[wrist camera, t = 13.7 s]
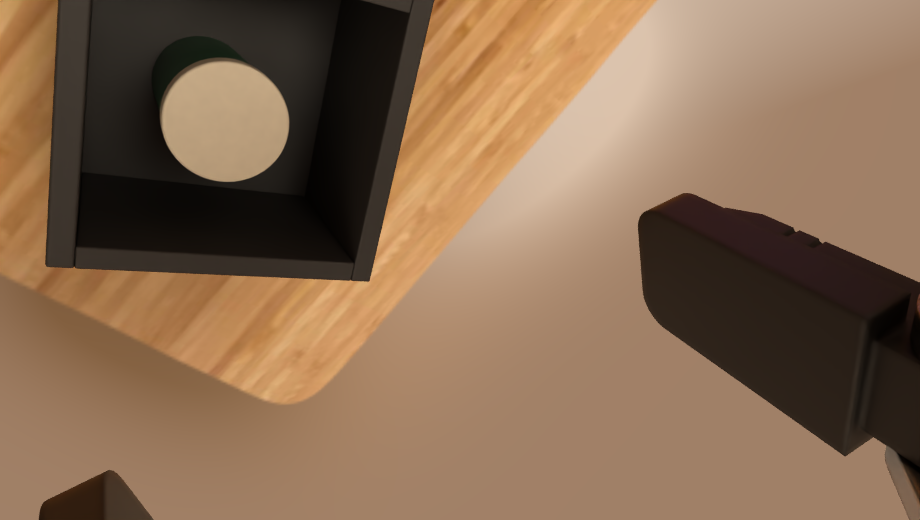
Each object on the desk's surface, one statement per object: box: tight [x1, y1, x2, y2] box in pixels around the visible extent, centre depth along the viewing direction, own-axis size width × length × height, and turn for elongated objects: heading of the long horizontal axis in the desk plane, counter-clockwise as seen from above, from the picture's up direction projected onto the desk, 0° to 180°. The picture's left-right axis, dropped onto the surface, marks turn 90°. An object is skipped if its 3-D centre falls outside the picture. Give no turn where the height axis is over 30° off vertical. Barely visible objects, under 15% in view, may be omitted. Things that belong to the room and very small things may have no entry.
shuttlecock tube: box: [152, 36, 289, 182], centre depth 25 cm, size 4×4×7 cm
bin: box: [45, 0, 434, 282], centre depth 25 cm, size 11×11×9 cm
